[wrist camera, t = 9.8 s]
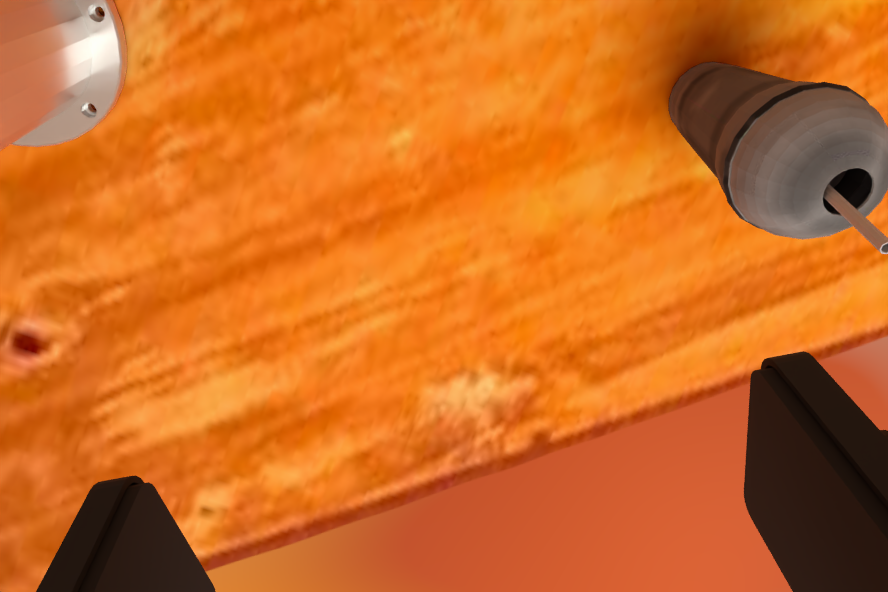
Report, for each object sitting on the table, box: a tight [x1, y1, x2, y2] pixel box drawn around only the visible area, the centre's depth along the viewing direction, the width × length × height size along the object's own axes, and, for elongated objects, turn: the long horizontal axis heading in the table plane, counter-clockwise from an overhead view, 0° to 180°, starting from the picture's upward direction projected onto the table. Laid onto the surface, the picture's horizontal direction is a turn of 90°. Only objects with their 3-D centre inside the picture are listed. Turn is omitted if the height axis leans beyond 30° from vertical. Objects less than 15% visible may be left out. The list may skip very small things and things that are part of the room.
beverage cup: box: [669, 62, 888, 254], centre depth 33 cm, size 7×7×20 cm
